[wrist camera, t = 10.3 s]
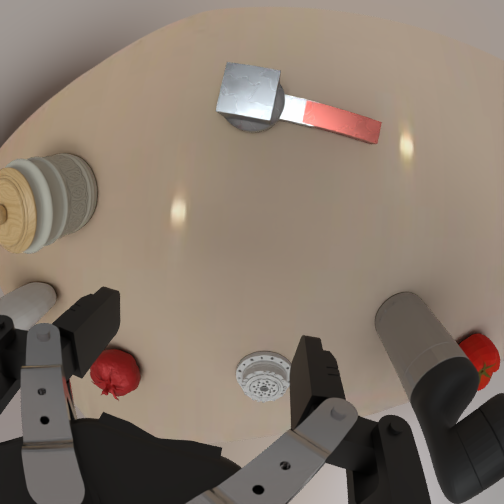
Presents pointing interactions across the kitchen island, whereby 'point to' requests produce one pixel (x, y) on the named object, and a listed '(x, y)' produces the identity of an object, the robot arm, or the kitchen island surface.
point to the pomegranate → (115, 372)
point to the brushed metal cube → (248, 93)
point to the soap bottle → (28, 304)
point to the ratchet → (316, 119)
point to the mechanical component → (264, 375)
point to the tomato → (481, 356)
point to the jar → (44, 200)
